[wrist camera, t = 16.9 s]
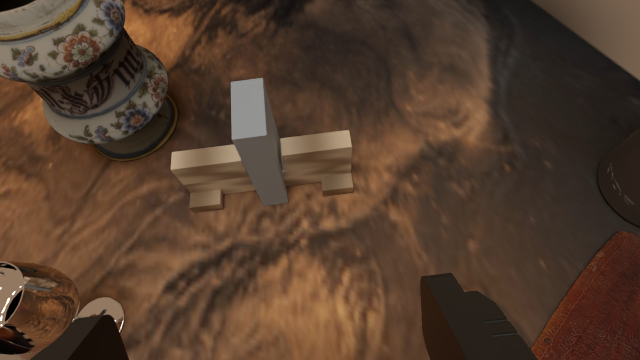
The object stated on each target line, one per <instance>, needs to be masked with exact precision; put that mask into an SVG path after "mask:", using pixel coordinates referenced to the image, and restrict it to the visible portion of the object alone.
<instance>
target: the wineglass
mask: <svg viewBox="0 0 640 360" xmlns="http://www.w3.org/2000/svg"><path fill="white" fill-rule="evenodd" d="M78 309H79V293H78V290H77V287H76V285H75V284H74V282H73V281H72V280H71V279H70V278H69V277H68V276H67V275H65V274H64V273H62V272H61V271H59V270H57V269H54V268H51V267H49V266H45V265H40V264H36V263H28V262H15V261H0V354H6V355H21V354H27V353H32V352H36V351H39V350H42V349H44V348H46V347H47V346H49V345H50V344H52V343H53V342H54V341H56V340H57V339H58V337H59V336H60V335H61V334H62V333H63V332H64V331H65V330H66V328H67V327H68V326H69V325H70V324H71V323H72V322H73V321H74V320H75V319H77V318H82V317H90V316H99V315H107V314H108V315H111V316H112V317H113V318H114V319H115V322H116V324H117V327H118V330H119V333H120V332H121V330H122V328H123V325H124V320H125V313H124V309H123V307H122V305H121V304H120V303H119V302H118V301H117V300H115V299H113V298H110V297H102V298H98V299H95V300H93V301H91V302H90V303H88V304H87V305H86V306H85V307H84V308H83V309H82V310H81V311H80V313H79V314H78V315H77V313H78Z"/></svg>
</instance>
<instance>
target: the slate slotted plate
mask: <svg viewBox="0 0 640 360" xmlns="http://www.w3.org/2000/svg"><path fill="white" fill-rule="evenodd" d="M231 118H232V141H233V143H234V145H235V147H236V149H237V152H238V154H239V156H240V158H241V160H242V162H243V164H244V166H245V168H246V170H247V173H248V175H249V177H250V179H251V181H252V183H253V185H254V187H255V189H256V191H257V194H258V196H259V198H260V200H261V202H262V204H263V206H268V205H276V204H283V203H288V193H287V189H286V186H285V183H284V179H283V174H282V163H281V156H282V153H281V143H280V140H279V136H278V132H277V129H276V125H275V121H274V118H273V114H272V110H271V106H270V103H269V99H268V95H267V92H266V88H265V84H264V81H263V78H258V79H251V80H243V81H235V82H231Z"/></svg>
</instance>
